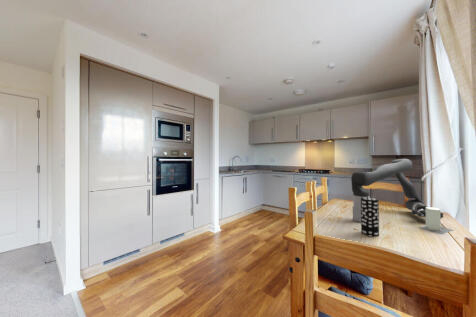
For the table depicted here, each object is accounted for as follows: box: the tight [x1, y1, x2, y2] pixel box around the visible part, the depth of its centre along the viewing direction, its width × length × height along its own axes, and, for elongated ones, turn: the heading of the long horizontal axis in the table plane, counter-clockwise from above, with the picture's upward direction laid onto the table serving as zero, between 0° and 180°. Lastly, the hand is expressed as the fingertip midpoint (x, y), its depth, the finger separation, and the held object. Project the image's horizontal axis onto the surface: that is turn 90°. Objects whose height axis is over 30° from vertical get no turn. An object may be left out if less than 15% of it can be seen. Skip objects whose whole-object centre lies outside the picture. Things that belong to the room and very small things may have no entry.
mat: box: [419, 225, 454, 235], centre depth 113 cm, size 14×10×1 cm
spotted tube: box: [360, 196, 380, 238], centre depth 109 cm, size 8×8×20 cm
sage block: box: [425, 206, 442, 231], centre depth 114 cm, size 5×5×12 cm
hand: (430, 216), depth 117 cm, fingers open, 8 cm apart
